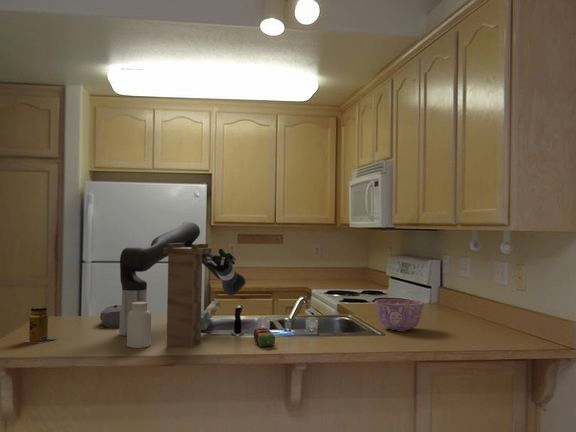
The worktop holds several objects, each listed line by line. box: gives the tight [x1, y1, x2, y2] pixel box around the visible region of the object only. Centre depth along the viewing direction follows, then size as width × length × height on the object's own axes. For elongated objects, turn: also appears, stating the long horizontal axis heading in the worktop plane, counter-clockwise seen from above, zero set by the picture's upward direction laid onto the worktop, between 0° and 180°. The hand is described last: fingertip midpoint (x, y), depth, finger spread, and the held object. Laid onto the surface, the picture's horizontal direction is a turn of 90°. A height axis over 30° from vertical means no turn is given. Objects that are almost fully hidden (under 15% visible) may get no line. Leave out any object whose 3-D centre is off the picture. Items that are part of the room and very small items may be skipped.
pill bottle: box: [126, 301, 152, 349], centre depth 189 cm, size 8×8×15 cm
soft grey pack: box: [99, 304, 122, 329], centre depth 232 cm, size 15×8×20 cm
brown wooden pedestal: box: [163, 242, 212, 349], centre depth 194 cm, size 13×13×36 cm
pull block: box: [201, 300, 221, 331], centre depth 214 cm, size 22×6×5 cm, turn 168°
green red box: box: [253, 326, 276, 347], centre depth 196 cm, size 21×6×5 cm, turn 12°
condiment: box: [23, 306, 55, 344], centre depth 196 cm, size 7×8×12 cm
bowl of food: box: [374, 298, 425, 332], centre depth 227 cm, size 20×20×12 cm
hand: (213, 250), depth 220 cm, fingers open, 5 cm apart
